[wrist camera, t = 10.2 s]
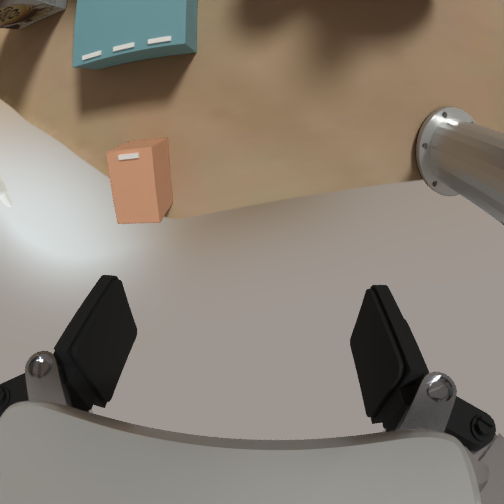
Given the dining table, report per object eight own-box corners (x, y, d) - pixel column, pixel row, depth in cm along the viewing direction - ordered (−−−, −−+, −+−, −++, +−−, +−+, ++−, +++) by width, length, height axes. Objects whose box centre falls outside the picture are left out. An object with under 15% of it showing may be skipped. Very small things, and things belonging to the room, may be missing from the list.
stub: (167, 137, 30) (150, 147, 24) (173, 202, 34) (159, 223, 29) (128, 141, 30) (105, 152, 24) (135, 203, 34) (117, 224, 28)
